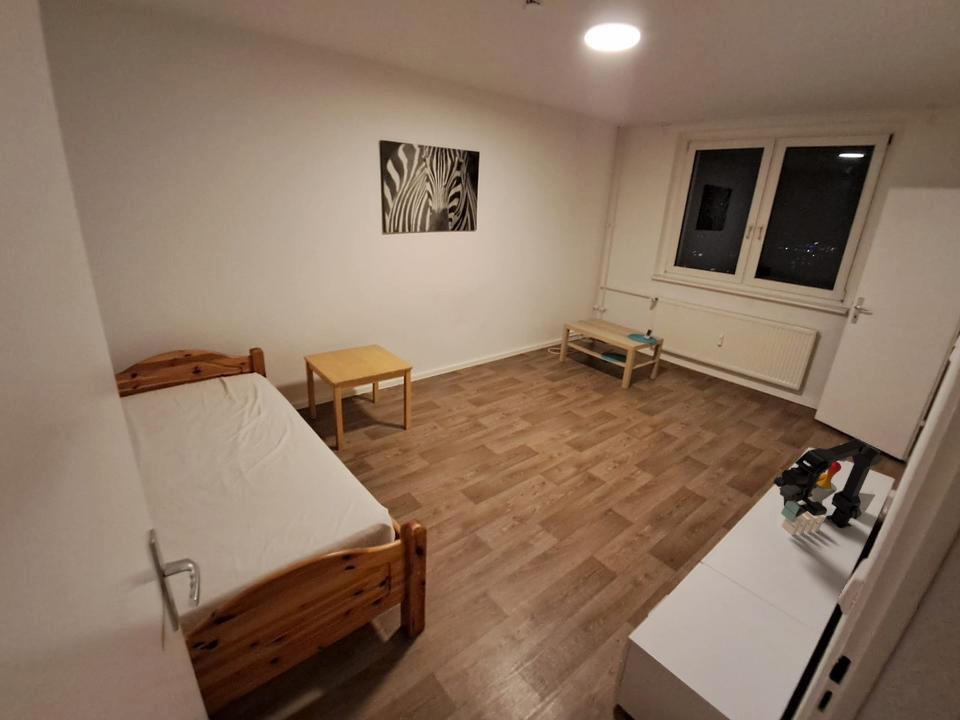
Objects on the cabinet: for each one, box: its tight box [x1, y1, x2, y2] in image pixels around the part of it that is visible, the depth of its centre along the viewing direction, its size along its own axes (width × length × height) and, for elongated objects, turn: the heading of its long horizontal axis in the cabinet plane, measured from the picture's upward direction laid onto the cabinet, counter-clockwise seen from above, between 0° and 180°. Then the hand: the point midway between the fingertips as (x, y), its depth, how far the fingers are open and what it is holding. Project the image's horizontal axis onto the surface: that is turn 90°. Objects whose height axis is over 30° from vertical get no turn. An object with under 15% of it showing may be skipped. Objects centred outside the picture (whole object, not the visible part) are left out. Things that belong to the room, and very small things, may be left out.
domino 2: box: [781, 517, 803, 536], centre depth 176 cm, size 2×5×8 cm, turn 14°
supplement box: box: [842, 482, 876, 518], centre depth 190 cm, size 7×7×13 cm
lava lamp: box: [799, 458, 847, 505], centre depth 182 cm, size 9×9×35 cm
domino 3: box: [796, 513, 810, 535], centre depth 177 cm, size 2×5×8 cm, turn 14°
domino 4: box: [804, 511, 818, 534], centre depth 178 cm, size 2×5×8 cm, turn 14°
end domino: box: [811, 515, 827, 533], centre depth 179 cm, size 2×5×8 cm, turn 14°
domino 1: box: [780, 501, 800, 523], centre depth 172 cm, size 2×5×8 cm, turn 14°
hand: (790, 511), depth 172 cm, fingers closed on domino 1, 5 cm apart
